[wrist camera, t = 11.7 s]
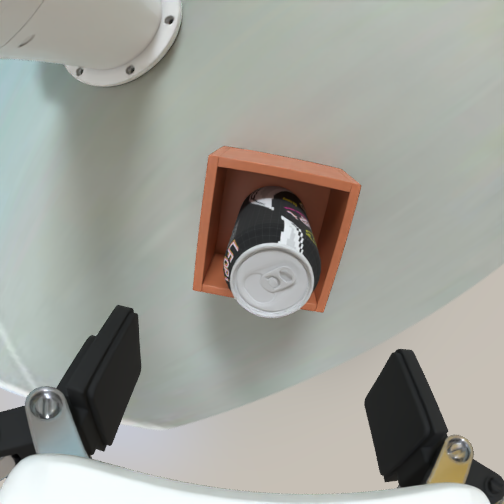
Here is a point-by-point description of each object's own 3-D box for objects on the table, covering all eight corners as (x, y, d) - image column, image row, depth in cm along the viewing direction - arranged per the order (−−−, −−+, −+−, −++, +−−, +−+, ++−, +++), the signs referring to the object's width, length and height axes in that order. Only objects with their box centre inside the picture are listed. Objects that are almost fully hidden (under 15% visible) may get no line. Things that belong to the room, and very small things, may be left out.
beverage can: (317, 224, 28) (343, 297, 17) (263, 257, 30) (257, 341, 19) (281, 171, 26) (289, 212, 15) (226, 207, 28) (196, 270, 17)
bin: (207, 255, 30) (192, 290, 24) (223, 145, 26) (208, 154, 20) (314, 274, 31) (323, 313, 25) (341, 169, 26) (361, 185, 20)
